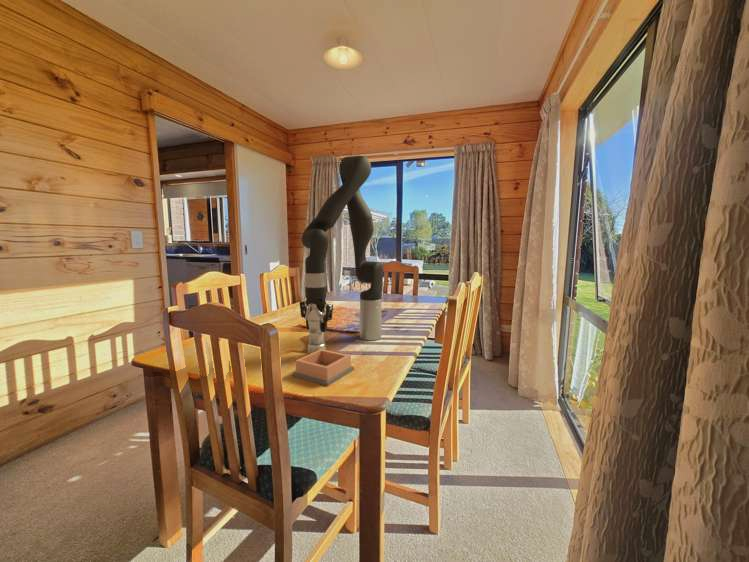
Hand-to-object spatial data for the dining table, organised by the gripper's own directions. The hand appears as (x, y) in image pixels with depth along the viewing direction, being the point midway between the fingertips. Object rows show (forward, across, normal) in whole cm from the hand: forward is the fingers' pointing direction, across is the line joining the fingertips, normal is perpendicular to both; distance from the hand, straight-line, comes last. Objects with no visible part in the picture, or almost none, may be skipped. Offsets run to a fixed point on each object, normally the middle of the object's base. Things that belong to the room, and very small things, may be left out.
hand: (316, 330), depth 121 cm
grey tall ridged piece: (+10, 0, 0) cm, 10 cm away
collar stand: (+10, -12, +11) cm, 19 cm away
